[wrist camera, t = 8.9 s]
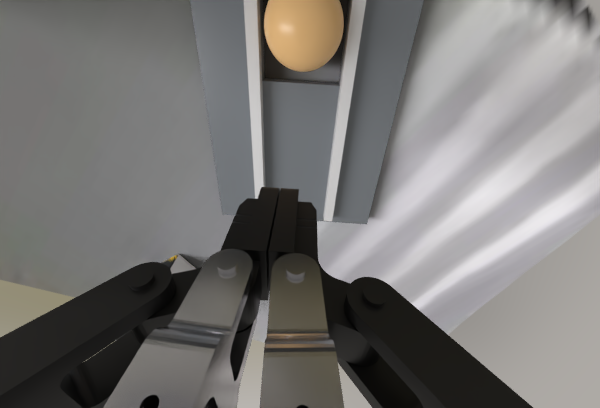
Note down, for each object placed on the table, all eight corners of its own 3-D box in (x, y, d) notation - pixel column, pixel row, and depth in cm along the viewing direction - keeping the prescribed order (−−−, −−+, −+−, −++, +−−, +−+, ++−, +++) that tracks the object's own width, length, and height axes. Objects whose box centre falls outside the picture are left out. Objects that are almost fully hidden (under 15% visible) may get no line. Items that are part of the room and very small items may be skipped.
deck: (225, 207, 33) (219, 220, 31) (184, -88, 18) (166, -104, 16) (364, 216, 33) (368, 230, 31) (435, -74, 18) (452, -88, 16)
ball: (249, -20, 15) (273, -36, 19) (258, 80, 20) (275, 51, 24) (348, -11, 15) (352, -30, 19) (333, 89, 20) (339, 58, 23)
